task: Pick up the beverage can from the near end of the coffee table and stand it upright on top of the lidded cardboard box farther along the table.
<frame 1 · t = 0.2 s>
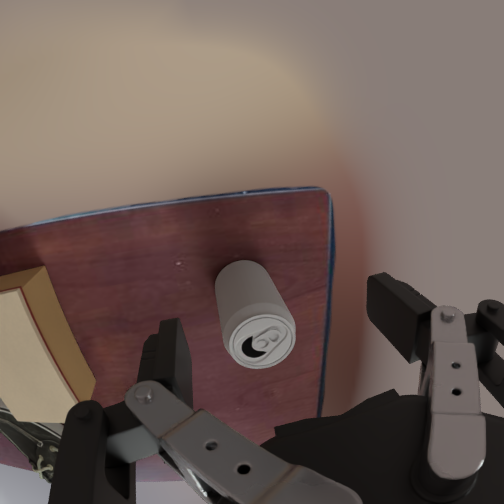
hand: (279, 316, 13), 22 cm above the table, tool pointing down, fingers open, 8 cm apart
lidded cardboard box: (36, 333, 34), on the table
beverage can: (241, 282, 37), on the table
boat shoe: (61, 438, 41), on the table
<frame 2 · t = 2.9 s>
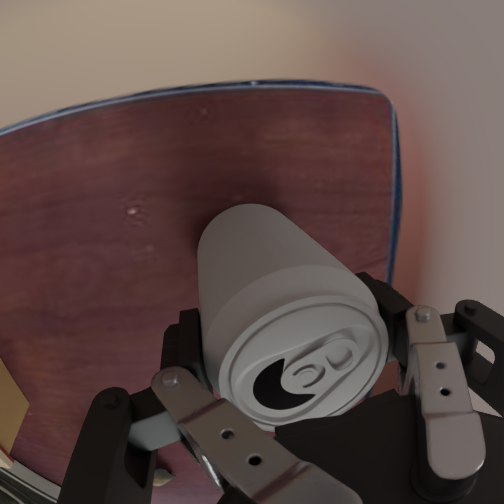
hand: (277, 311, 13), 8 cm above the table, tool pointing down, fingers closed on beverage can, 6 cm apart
beverage can: (247, 249, 20), on the table, touching gripper
boat shoe: (10, 468, 25), on the table
eagle figurine: (138, 461, 26), on the table
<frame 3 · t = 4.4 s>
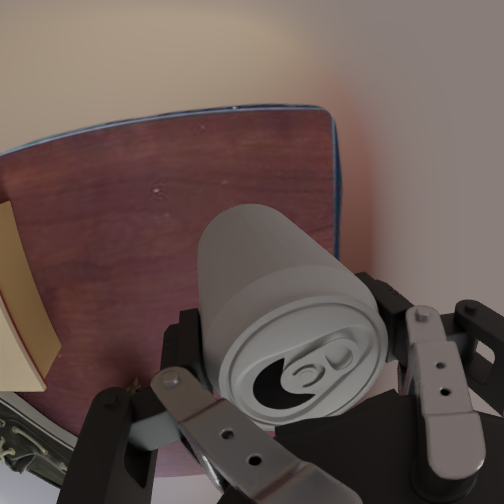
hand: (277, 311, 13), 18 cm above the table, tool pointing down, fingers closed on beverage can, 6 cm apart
beverage can: (247, 249, 20), point 11 cm above the table, touching gripper
boat shoe: (30, 421, 35), on the table
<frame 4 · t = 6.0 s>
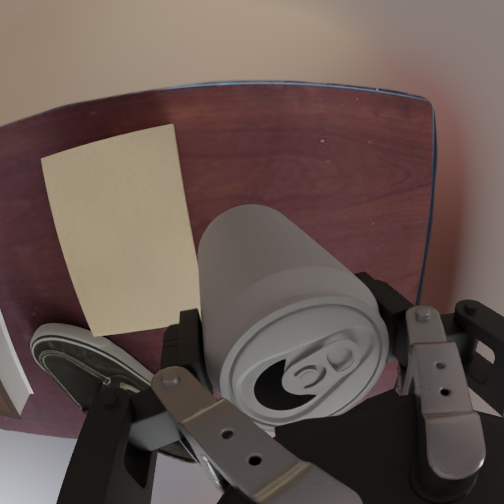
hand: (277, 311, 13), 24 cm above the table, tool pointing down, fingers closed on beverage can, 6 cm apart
lidded cardboard box: (137, 220, 34), on the table
beverage can: (247, 250, 20), point 16 cm above the table, touching gripper
boat shoe: (124, 381, 42), on the table
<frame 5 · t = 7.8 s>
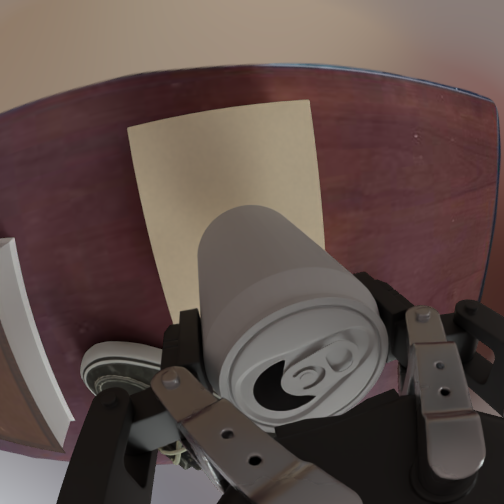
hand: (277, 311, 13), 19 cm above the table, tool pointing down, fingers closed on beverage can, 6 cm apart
lidded cardboard box: (229, 215, 30), on the table
beverage can: (247, 250, 20), point 11 cm above the table, touching gripper
boat shoe: (192, 401, 38), on the table
when the fingers open (16 cm above the table, at t = 9.2 s): beverage can stays where it is, resting on lidded cardboard box.
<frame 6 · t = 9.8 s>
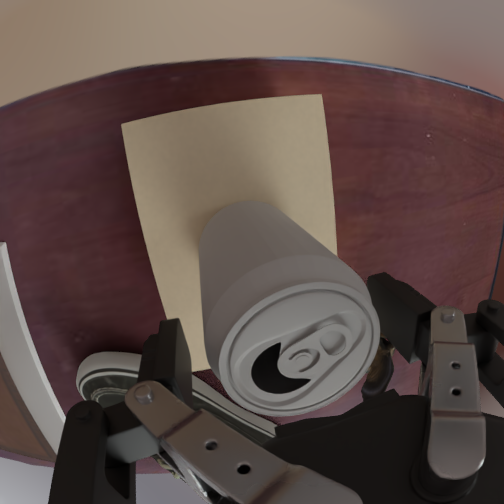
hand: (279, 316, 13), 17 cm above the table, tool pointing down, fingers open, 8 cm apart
lidded cardboard box: (232, 219, 28), on the table
beverage can: (247, 245, 21), point 8 cm above the table, touching lidded cardboard box
boat shoe: (193, 411, 36), on the table
eagle figurine: (367, 346, 37), on the table
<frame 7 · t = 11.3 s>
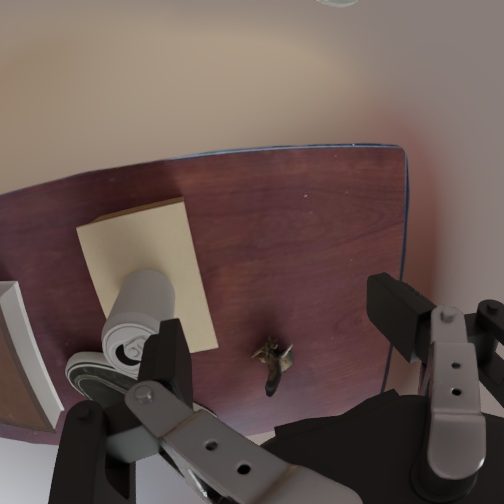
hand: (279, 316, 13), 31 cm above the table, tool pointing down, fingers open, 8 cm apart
lidded cardboard box: (155, 268, 43), on the table
beverage can: (149, 291, 35), point 8 cm above the table, touching lidded cardboard box
boat shoe: (146, 396, 49), on the table
eagle figurine: (271, 354, 51), on the table
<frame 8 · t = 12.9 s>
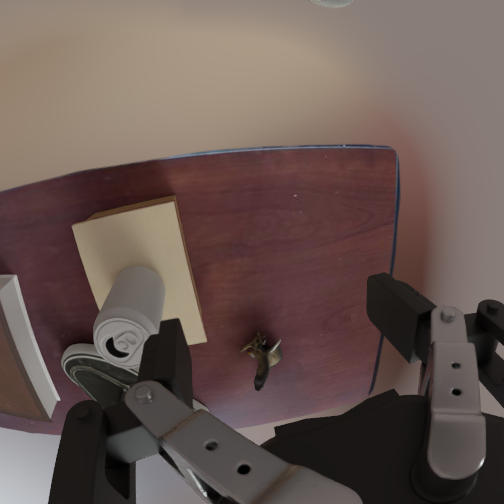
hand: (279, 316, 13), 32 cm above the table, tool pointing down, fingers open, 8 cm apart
lidded cardboard box: (148, 264, 44), on the table
beverage can: (140, 287, 37), point 8 cm above the table, touching lidded cardboard box
boat shoe: (139, 387, 51), on the table
eagle figurine: (260, 349, 52), on the table
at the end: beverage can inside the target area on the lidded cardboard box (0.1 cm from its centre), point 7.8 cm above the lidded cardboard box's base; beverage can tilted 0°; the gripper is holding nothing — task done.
